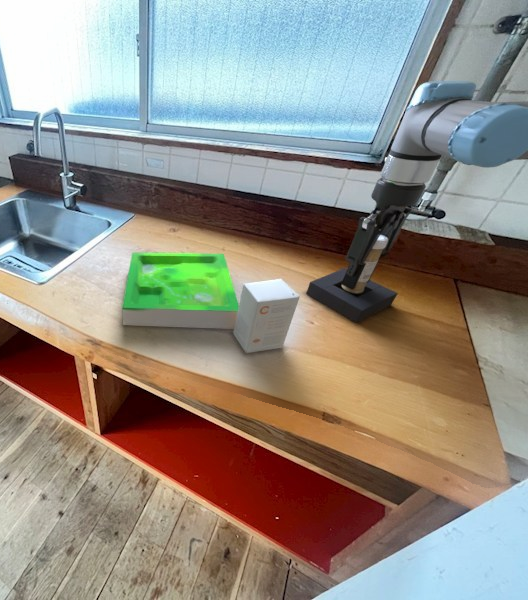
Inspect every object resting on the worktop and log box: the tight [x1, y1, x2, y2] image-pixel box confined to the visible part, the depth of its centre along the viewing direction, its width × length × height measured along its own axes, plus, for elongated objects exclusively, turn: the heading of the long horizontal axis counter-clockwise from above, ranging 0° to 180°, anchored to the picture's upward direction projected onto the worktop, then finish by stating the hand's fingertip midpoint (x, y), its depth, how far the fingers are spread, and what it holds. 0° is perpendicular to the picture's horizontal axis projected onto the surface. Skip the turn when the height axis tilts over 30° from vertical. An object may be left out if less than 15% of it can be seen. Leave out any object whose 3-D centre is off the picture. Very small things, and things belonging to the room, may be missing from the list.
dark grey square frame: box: [305, 267, 399, 324], centre depth 76 cm, size 13×13×4 cm
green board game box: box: [121, 252, 239, 330], centre depth 80 cm, size 25×25×5 cm
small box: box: [233, 278, 300, 354], centre depth 63 cm, size 8×6×13 cm
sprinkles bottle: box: [342, 235, 388, 294], centre depth 71 cm, size 5×5×14 cm
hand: (354, 283), depth 74 cm, fingers closed on sprinkles bottle, 4 cm apart
